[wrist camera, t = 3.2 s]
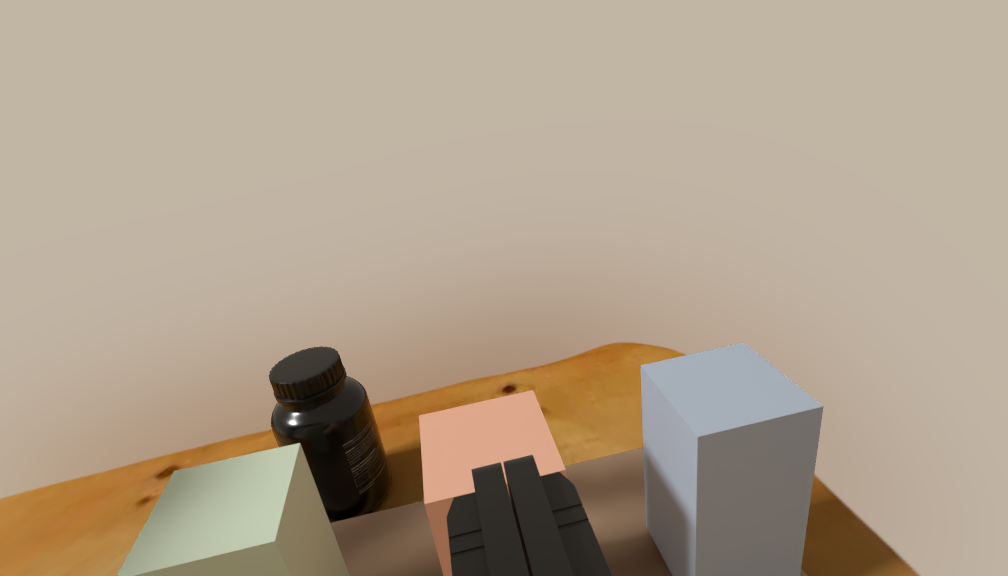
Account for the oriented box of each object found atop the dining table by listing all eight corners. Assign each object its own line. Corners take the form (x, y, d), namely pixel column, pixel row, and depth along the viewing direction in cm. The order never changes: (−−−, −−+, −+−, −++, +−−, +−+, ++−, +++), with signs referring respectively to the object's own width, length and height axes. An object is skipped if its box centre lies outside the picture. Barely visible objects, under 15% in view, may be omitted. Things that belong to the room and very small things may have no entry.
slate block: (798, 587, 29) (823, 406, 24) (694, 616, 28) (697, 436, 23) (734, 503, 34) (744, 342, 29) (646, 526, 33) (640, 365, 28)
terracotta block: (586, 648, 27) (565, 469, 22) (471, 680, 27) (424, 504, 22) (554, 551, 33) (533, 390, 28) (458, 575, 32) (419, 415, 27)
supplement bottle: (377, 450, 46) (341, 328, 41) (405, 499, 40) (367, 364, 35) (296, 487, 43) (248, 361, 38) (314, 545, 37) (260, 406, 33)
